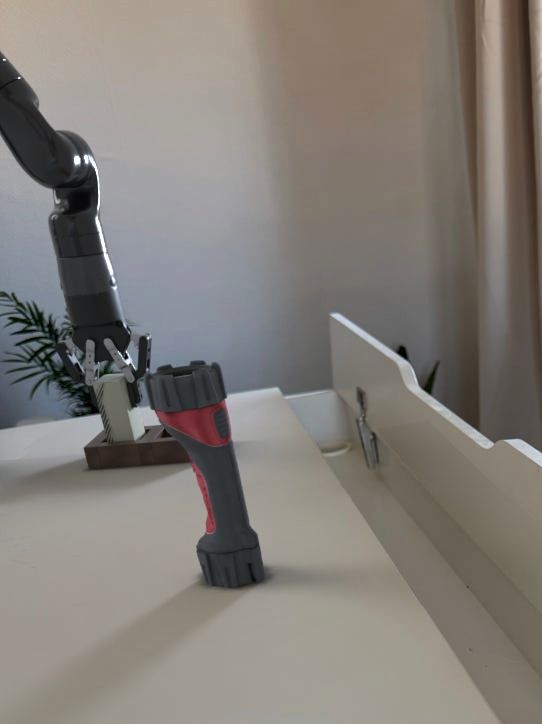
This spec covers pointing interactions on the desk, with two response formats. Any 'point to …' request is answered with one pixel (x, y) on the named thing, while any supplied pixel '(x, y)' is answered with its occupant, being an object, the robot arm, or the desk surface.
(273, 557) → the desk surface
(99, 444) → the socket block
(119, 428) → the box
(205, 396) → the flashlight
